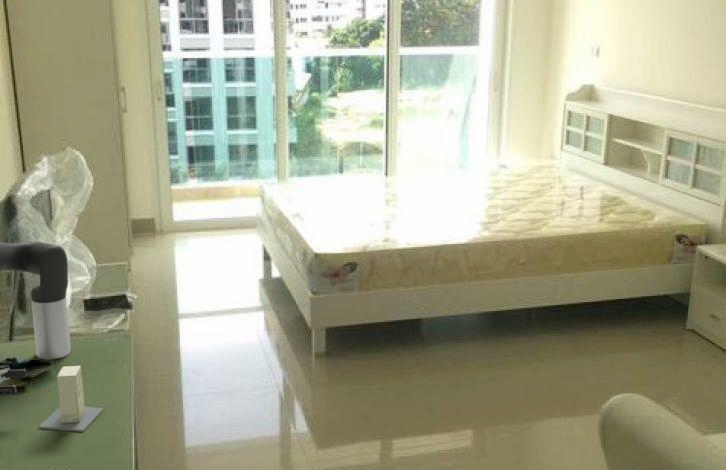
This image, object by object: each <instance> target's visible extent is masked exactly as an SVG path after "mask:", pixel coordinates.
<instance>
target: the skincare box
mask: <svg viewBox="0 0 726 470" xmlns="http://www.w3.org/2000/svg"><path fill="white" fill-rule="evenodd" d="M56 379H57V380H56V381H57V390H58V400H59V407H60V413H61V423H71V422H80V420H81V418H82V416H83V414H84V411H85V407H86V406H85V396H84V387H83V376H82V366H81V365H68V366H67V365H66V366H62V367H61V369H60V370H59V372H58V374H57V376H56Z"/></svg>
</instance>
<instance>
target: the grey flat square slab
mask: <svg viewBox="0 0 726 470" xmlns="http://www.w3.org/2000/svg"><path fill="white" fill-rule="evenodd" d="M84 407H85V411H84V414H83V416H82V418H81V420H80V422H71V423H61V413H60V406H59V407H58V408H57V409H56V410H55V411H54V412H53V413H51V414H50V415H49V417H47V418H46V419H45V420H44V421H43V422H42V423H41V424H40V425H39V426H38V429H40V430H42V429H43V430H44V429H45V430H53V431H54V430H55V431H56V430H57V431H67V432H81V433H84V432H85V431H86V430H87V429H88V428H89V427H90V426H91V425H92V424H93V422H94V421H95V420H97V418H98V417H100V416H101V414H102V413H103V412H104V411H105V408H104V407H93V406H92V407H91V406H84Z"/></svg>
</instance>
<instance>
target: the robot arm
mask: <svg viewBox="0 0 726 470" xmlns="http://www.w3.org/2000/svg"><path fill="white" fill-rule="evenodd" d="M68 265H69V264H68V256H67V253H66V251H65V249H64V247H62V246H60V245H56V244H52V243H47V242H41V241H33V242H20V243H18V242H17V243H10V242H2V241H0V272H2V271H19V272H25V273H30V274H33V275H38V276H39V285H38V286H35V287H33V288H32V289H31V291H30V297H31V298H30V299H31V301H30V302H31V309H32V310H31V311H32V320H33V331H34V333H33V334H34V343H35V345H34V346H35V353H36V358H38V359H41V360H57V359H61V358H65V357H66V356H68V355H69V354H70V353H71V348H72V347H71V334H70V333H71V331H70V321H69V320H70V319H69V318H68V317H69V315H68V304H67V290H68V285H69V274H68V273H69V272H68V271H69V270H68V268H69V266H68ZM27 377H28V373H27V369H25V368H21V369H19V368H18V369H11V368H10V365H7V364H5V365H0V384H2V383H3V382H4V381H8V380H22V379H23V380H25V379H26V378H27ZM16 394H17V386H16V385H15V384H9V385H0V397H4V396H16Z"/></svg>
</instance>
